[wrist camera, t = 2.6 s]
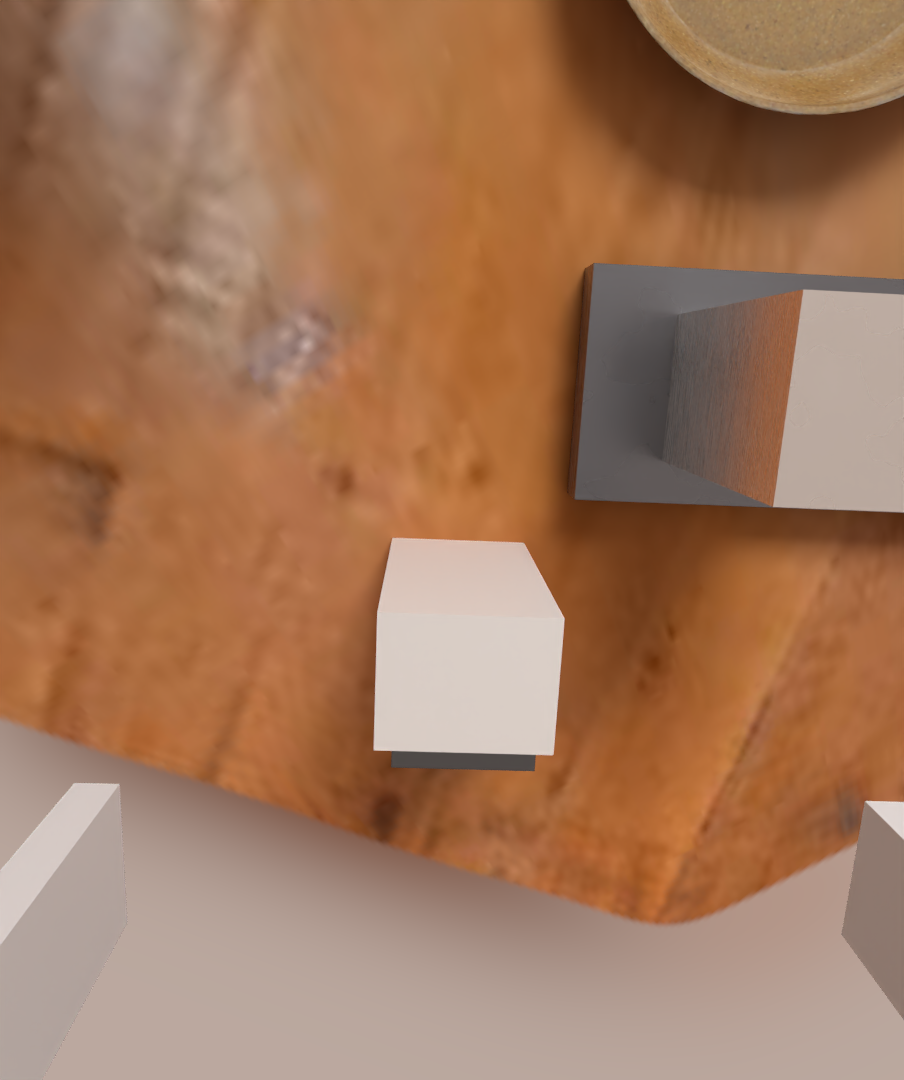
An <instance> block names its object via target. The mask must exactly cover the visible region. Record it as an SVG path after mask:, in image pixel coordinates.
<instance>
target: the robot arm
mask: <svg viewBox="0 0 904 1080" xmlns="http://www.w3.org/2000/svg"><path fill="white" fill-rule="evenodd" d="M126 924H127V908H126V890H125V872H124V855H123V836H122V819H121V801H120V784H96V783H92V784H91V783H74V784H73V785H72V786H71V788H70V789H69V790H68V791H67V792H66V793H65V795H64V796H63V797H62V798H61V799H60V800H59V802H58V803H57V804H56V805H55V806H54V808H53V809H52V810H51V811H50V812H49V814H48V815H47V816H46V817H45V818H44V819H43V820H42V822H41V823H40V824H39V825H38V826H37V828H36V829H35V830H34V831H33V832H32V833H31V835H30V836H29V837H28V838H27V839H26V841H25V842H24V843H23V844H22V845H21V846H20V848H19V849H18V850H17V851H16V852H15V853H14V855H13V856H12V857H11V858H10V859H9V861H8V862H7V863H6V864H5V865H4V867H3V868H2V869H1V870H0V1080H43V1078H44V1076H45V1074H46V1072H47V1070H48V1069H49V1067H50V1065H51V1063H52V1061H53V1059H54V1058H55V1056H56V1054H57V1052H58V1050H59V1048H60V1046H61V1045H62V1043H63V1041H64V1039H65V1037H66V1035H67V1034H68V1032H69V1030H70V1028H71V1026H72V1024H73V1022H74V1021H75V1019H76V1017H77V1015H78V1013H79V1011H80V1009H81V1007H82V1006H83V1004H84V1002H85V1000H86V998H87V996H88V995H89V993H90V991H91V989H92V987H93V985H94V984H95V982H96V980H97V978H98V976H99V974H100V973H101V971H102V969H103V967H104V965H105V963H106V961H107V960H108V958H109V956H110V954H111V952H112V950H113V949H114V946H115V945H116V943H117V941H118V939H119V937H120V936H121V934H122V932H123V930H124V928H125V926H126ZM842 936H843V937H844V938H845V940H846V941H847V943H848V944H849V945H850V947H851V948H852V949H853V951H854V952H855V954H856V955H857V956H858V958H859V959H860V960H861V962H862V963H863V964H864V966H865V967H866V969H867V970H868V971H869V973H870V974H871V975H872V977H873V978H874V980H875V981H876V982H877V984H878V985H879V987H880V988H881V989H882V991H883V992H884V993H885V995H886V996H887V998H888V999H889V1000H890V1002H891V1003H892V1004H893V1006H894V1007H895V1009H896V1010H897V1011H898V1013H899V1014H900V1015H901V1017H902V1018H903V1019H904V802H881V801H865V805H864V810H863V816H862V822H861V827H860V833H859V839H858V844H857V850H856V855H855V861H854V867H853V872H852V878H851V884H850V889H849V896H848V901H847V907H846V912H845V918H844V923H843V929H842Z"/></svg>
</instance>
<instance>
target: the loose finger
mask: <svg viewBox="0 0 904 1080" xmlns="http://www.w3.org/2000/svg"><path fill="white" fill-rule="evenodd" d="M564 620H565V618H564V617H563V615H562V613H561V611H560V609H559V607H558V605H557V604H556V602H555V600H554V598H553V596H552V594H551V592H550V591H549V589H548V587H547V585H546V583H545V581H544V579H543V578H542V576H541V574H540V572H539V570H538V568H537V566H536V565H535V563H534V561H533V559H532V557H531V555H530V553H529V551H528V550H527V548H526V546H525V544H524V543H516V542H490V541H463V540H437V539H411V538H392V542H391V547H390V552H389V557H388V562H387V567H386V572H385V576H384V581H383V586H382V591H381V596H380V601H379V606H378V611H377V640H376V679H375V718H374V750H377V751H392V760H391V767H397V768H435V769H474V770H512V771H534V769H535V756H536V755H553V754H554V742H555V730H556V718H557V706H558V693H559V681H560V669H561V657H562V645H563V632H564Z"/></svg>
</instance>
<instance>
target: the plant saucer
mask: <svg viewBox="0 0 904 1080" xmlns="http://www.w3.org/2000/svg"><path fill="white" fill-rule="evenodd" d="M627 2H628V3H629V5H630V6H631V8H632V10H633V11H634V13H635V15H636V16H637V17H638V19H639V20H640V22H641V23H642V25H643V26H644V27H645V28H646V30H647V31H648V32H649V34H650V35H651V36H652V37H653V38H654V40H655V41H656V42H657V43H658V44H659V45H660V46H661V47H662V48H663V49H664V50H665V51H666V52H667V53H668V54H669V55H670V56H671V57H672V58H673V59H674V60H675V61H676V62H677V63H678V64H679V65H680V66H682V67H683V68H684V69H685V70H686V71H688V72H689V73H691V74H692V75H693V76H695V77H696V78H698V79H699V80H701V81H703V82H704V83H705V84H707V85H708V86H710V87H712V88H714V89H715V90H717V91H719V92H721V93H723V94H725V95H727V96H729V97H732V98H733V99H735V100H738V101H741V102H744V103H746V104H750V105H753V106H755V107H759V108H763V109H767V110H768V109H769V110H773V111H778V112H784V113H792V114H809V115H825V114H836V113H844V112H854V111H859V110H863V109H867V108H872V107H875V106H878V105H881V104H884V103H887V102H889V101H892V100H895V99H898V98H900V97H903V96H904V0H627Z"/></svg>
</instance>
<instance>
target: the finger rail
mask: <svg viewBox="0 0 904 1080" xmlns="http://www.w3.org/2000/svg"><path fill="white" fill-rule="evenodd" d="M567 493H568V494H569V495H570V496H571V497H572V498H574V499H575V500H599V501H624V502H649V503H673V504H698V505H723V506H748V507H773V508H798V509H823V510H847V511H872V512H897V513H904V279H885V278H866V277H847V276H828V275H809V274H790V273H771V272H752V271H733V270H714V269H695V268H676V267H657V266H638V265H619V264H600V263H593V264H592V265H590V266H589V267H587V268H585V276H584V289H583V301H582V314H581V326H580V339H579V351H578V364H577V377H576V389H575V402H574V414H573V427H572V439H571V452H570V464H569V477H568V490H567Z"/></svg>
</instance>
